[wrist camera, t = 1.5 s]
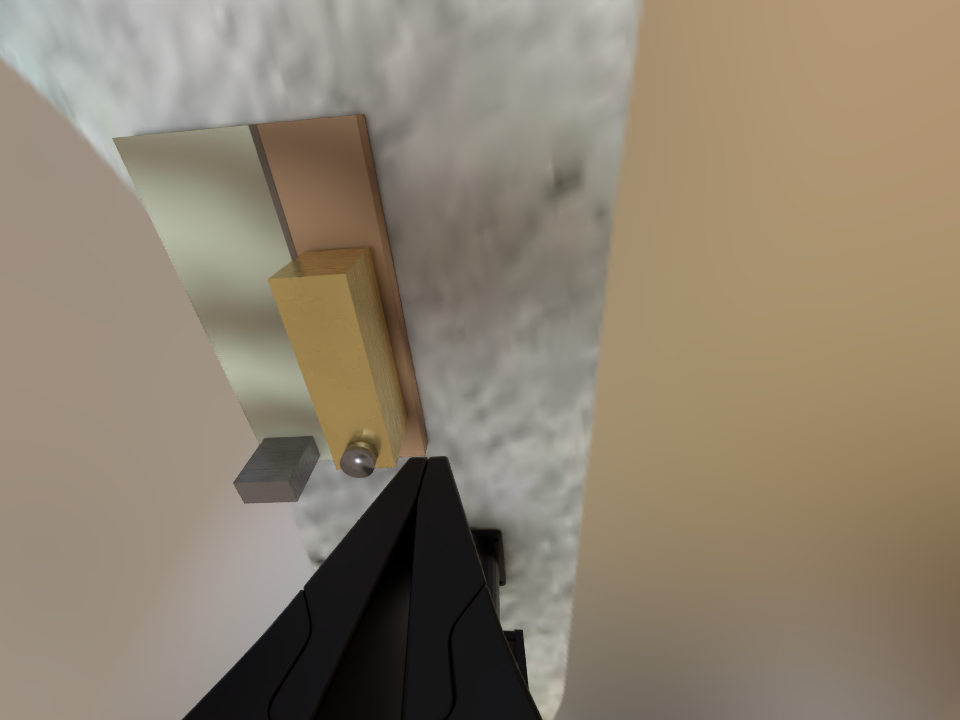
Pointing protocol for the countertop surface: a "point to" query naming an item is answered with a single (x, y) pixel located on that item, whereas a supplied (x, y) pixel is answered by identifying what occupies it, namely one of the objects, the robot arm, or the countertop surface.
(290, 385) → the door board
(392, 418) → the latch bar
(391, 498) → the robot arm
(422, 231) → the countertop surface
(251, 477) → the stop block
